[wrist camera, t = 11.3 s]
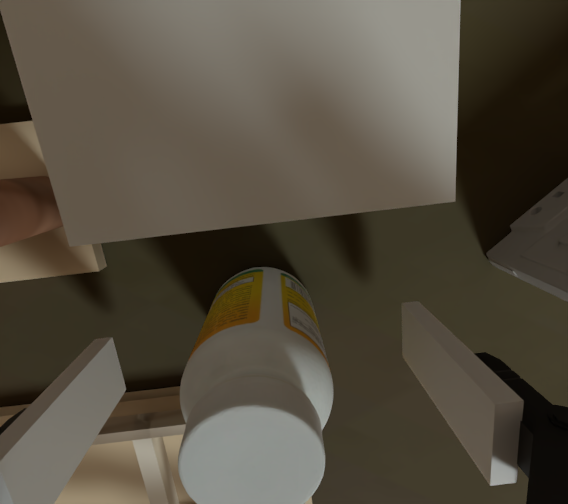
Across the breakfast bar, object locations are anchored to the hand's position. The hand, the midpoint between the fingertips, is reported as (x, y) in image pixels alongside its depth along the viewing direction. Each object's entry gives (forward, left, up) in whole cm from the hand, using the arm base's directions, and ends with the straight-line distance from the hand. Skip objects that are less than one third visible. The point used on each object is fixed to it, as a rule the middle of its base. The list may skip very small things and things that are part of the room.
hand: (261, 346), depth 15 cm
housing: (-11, +1, -3) cm, 12 cm away
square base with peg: (-7, -11, -3) cm, 14 cm away
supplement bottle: (0, 0, -3) cm, 3 cm away
